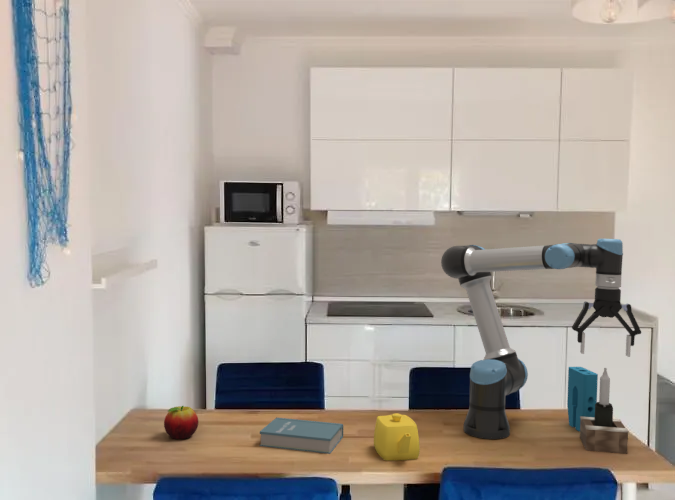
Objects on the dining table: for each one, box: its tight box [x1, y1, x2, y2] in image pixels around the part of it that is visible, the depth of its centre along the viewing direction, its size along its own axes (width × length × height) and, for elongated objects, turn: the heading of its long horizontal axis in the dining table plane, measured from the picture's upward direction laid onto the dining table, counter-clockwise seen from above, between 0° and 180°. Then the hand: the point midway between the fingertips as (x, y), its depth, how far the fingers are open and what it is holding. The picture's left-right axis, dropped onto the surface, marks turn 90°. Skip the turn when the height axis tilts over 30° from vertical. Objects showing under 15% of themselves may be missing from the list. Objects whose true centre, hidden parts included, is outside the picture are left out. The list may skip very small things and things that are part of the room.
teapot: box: [373, 412, 421, 462], centre depth 196 cm, size 20×12×12 cm, turn 12°
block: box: [566, 366, 599, 433], centre depth 224 cm, size 12×5×20 cm, turn 8°
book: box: [259, 417, 344, 455], centre depth 206 cm, size 23×16×5 cm
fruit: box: [163, 405, 199, 440], centre depth 208 cm, size 11×11×10 cm
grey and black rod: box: [594, 367, 614, 427], centre depth 207 cm, size 5×5×25 cm
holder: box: [579, 416, 629, 454], centre depth 207 cm, size 12×12×7 cm
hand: (604, 354), depth 206 cm, fingers open, 13 cm apart
